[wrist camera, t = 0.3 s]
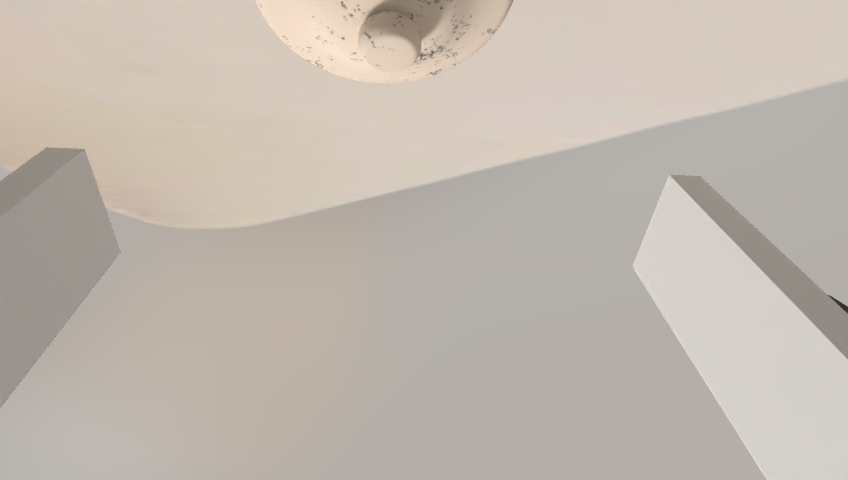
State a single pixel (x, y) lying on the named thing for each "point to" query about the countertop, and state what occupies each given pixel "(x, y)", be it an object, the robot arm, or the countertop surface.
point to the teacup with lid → (385, 34)
